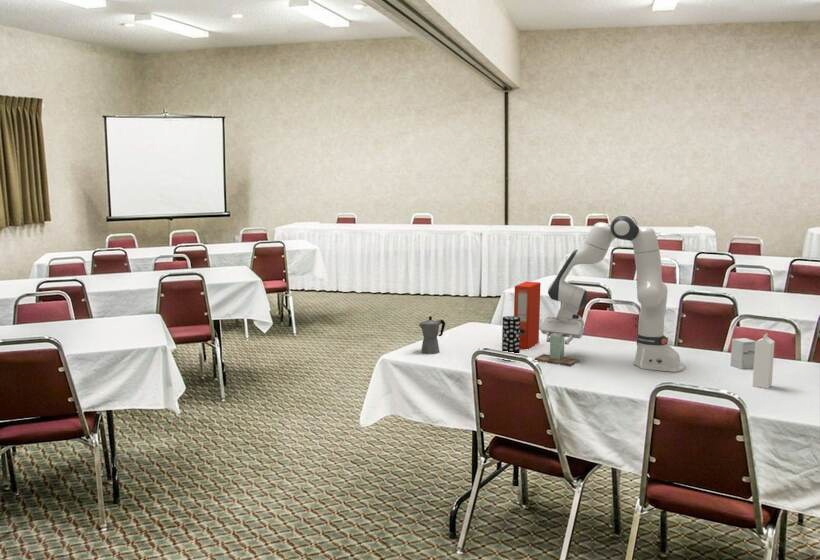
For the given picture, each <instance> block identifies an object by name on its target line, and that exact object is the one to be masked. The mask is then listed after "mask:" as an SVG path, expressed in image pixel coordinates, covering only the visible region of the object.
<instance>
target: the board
mask: <svg viewBox="0 0 820 560" xmlns="http://www.w3.org/2000/svg"><path fill="white" fill-rule="evenodd" d="M535 360H538V361H537V362H539V361H541V363H545V362H547V364H552V363H554V364H553V365H558V364H560V366H565V365H566V366H565V367H573V366H575V365H576V364H578V363H579V362H580V360H579V359H578V358H571V357H568V356H567V357H566V356H564V359H562V360H560V361H558V360H552V359H550V354H545V353H543V354H541V355H538V356H537V357H535V358H534V361H535ZM577 362H578V363H577ZM575 363H576V364H575Z"/></svg>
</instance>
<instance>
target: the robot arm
mask: <svg viewBox="0 0 820 560" xmlns="http://www.w3.org/2000/svg"><path fill="white" fill-rule="evenodd" d="M615 239H618V240H622V241H629V242H631V244H632V248H633V255H634V261H635V269H636V293H637V294H636V298H637V301H638V303H639V304H640V311H639V316H638V331H637V332H638V333H636V346H637V347H636V352H635V357H634V360H633V365H635V366H637V367H638V368H640V369H643V370H649V371H650V370H651V371H658V372H659V371H661V372H671V373H677V372H682V371H683V370H685V369H686V364H685V363H683V362H681V358H680V353H679V352H678V351H676V349H674V348H673V347H672V346H670V345H669V344H668V342H669V336H668V337H667V336H665V335H664V332H665V318H666V317H665V315H666V309H667V301H668V300H667V299H668V287H667V285H666V283H665V282H663V280H662V279H663V278H662V276H663V275H662V273H663V272H662V268H663V267H662V266H663V265H662V260H661V252H660V245H659V241H658V238H657V235H656V232H655V230H654V228H653V227H649V226H639V225H638V223H637V220H636V219H635V218H634V217H633V216H631V215H628V214H621V215H617V216H616V217H615V218H614V219H613V220H612V221H611V223H606V222H603V221H601V222H600V221H599V222H596V223H595V224H593V226H592V228H591V229H590V230H589V233H588V234H587V236H586V239H585V241H584V243H583V245H582V246H581V247H580V248H578V249H575V250H573V251H572V252H571V253H570V255H569V257H568V258H567V260H566V261H565V262H564V264H563V265H562V268H561V269H560V271H559V272H558V274H557V276H556V277H555V278H554V279H553V281H552V282H551V283H550V285H549V286H548V290H547V294H548V297H549V298H550V300H554V301H557V302H560V303H561V306H560V308H559V310H558V313H557V314H556V316H547V317H545V318H544V320H543V323H542V324H541V326H540V327H539V330H540V332H541V333H542V334H543V335H546V342H547V343H550V334H552V333H554V332H555V333H563V334H565V339H564V345H567V346H568V345H569V344H570V343H571V341H572V340H573V339H581V338H582V337H583V335H584V326H585V322H584V320H583V318H582V316H581V315H578V312H579V311H580V310H583V309H585V307H586V302H587V300H588V298H589V293H588V292H587V290H586V289H585V288H582V287H580V286H578V285H575V284H572V283H569V282H567V281H566V278H567V277H568V276H569V274H570V272H571V270H572V269H573V268H574V267H575V266H577V265H593V264H598V263H600V262H602V261H603V260H604V258H606V255H607V253H608V250H609V248H610V246H611V243H612V242H613V240H615ZM566 338H567V339H566Z"/></svg>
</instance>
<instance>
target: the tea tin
mask: <svg viewBox="0 0 820 560" xmlns="http://www.w3.org/2000/svg"><path fill="white" fill-rule="evenodd" d="M549 337H550V342H549V355H550V359H552V360H558V361H560V360H562V359H564V357H565V339H566V337H565V334H563V333H555V332H554V333H552V334H550V336H549Z"/></svg>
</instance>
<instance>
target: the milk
mask: <svg viewBox="0 0 820 560" xmlns="http://www.w3.org/2000/svg"><path fill="white" fill-rule="evenodd" d="M755 341H756V342H755V355H754V368H753V373H752V387H754V386H755V388H760V387H761V389H766V388H768V389H770V388H771V387H772V386H771V385H772V383H773V372H774V370H773V369H774V358H775V357H774V355H775V342H776V341H775V340H773V339H771V337H769V336H768V333H767V332H766V333H765V334H764V335H763V337H762V338H760V339H758V340H755ZM770 386H771V387H770Z"/></svg>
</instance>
